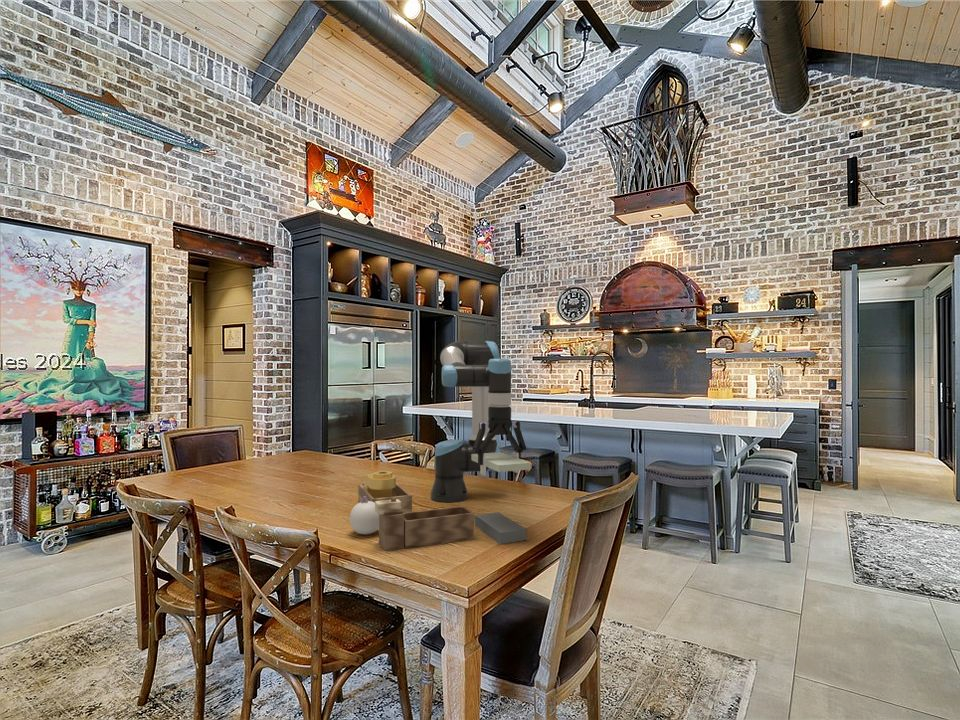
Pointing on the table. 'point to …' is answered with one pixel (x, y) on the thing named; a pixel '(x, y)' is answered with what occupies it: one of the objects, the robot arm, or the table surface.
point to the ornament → (364, 517)
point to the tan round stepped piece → (380, 484)
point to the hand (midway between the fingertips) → (499, 473)
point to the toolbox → (425, 527)
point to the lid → (503, 462)
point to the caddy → (396, 492)
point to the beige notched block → (387, 505)
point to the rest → (500, 528)
